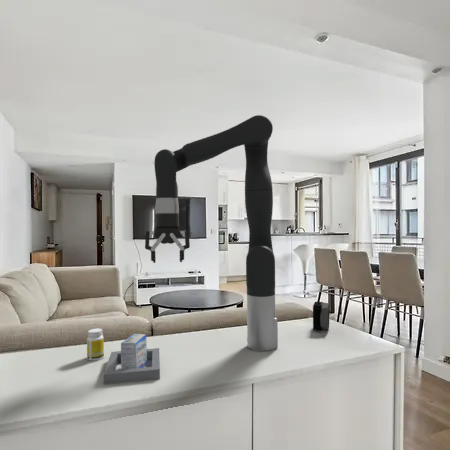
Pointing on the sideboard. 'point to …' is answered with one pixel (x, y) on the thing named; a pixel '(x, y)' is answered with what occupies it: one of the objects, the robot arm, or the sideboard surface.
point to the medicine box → (134, 352)
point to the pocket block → (131, 374)
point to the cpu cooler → (321, 316)
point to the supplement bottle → (95, 345)
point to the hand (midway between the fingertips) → (167, 262)
